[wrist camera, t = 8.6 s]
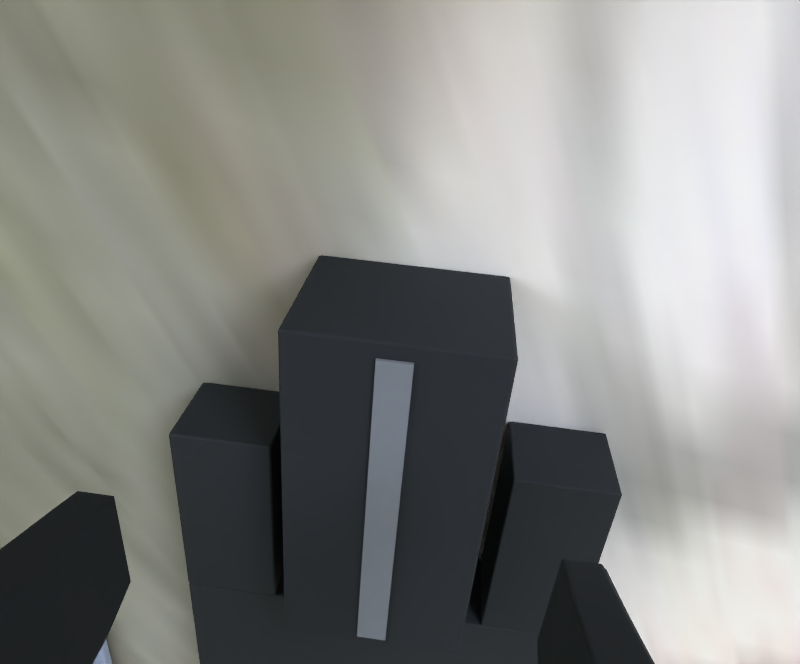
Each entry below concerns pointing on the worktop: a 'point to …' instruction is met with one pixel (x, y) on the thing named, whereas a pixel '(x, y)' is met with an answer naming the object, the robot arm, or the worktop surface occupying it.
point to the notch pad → (263, 537)
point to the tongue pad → (390, 447)
